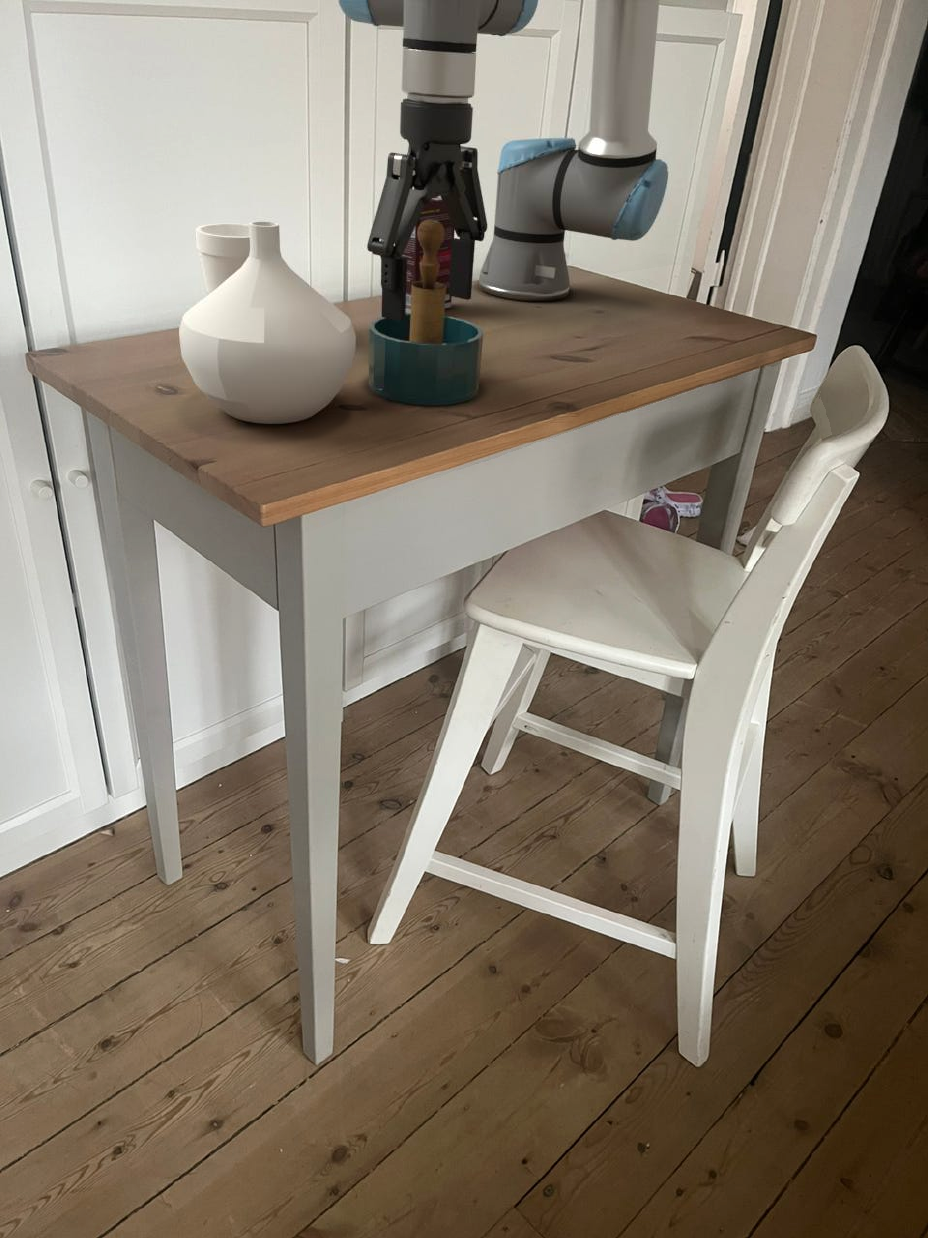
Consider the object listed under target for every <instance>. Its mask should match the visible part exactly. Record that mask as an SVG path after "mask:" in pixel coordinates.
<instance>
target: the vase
mask: <svg viewBox="0 0 928 1238" xmlns="http://www.w3.org/2000/svg"><path fill="white" fill-rule="evenodd" d="M248 225H249V231H250V254H249V257H248V258H247V260H246V261H245V263H244V264H243V265H242V267H241V268H240V269H239V270H237V271H236V272H235V273H234V274H233V275H232V276H230V277H229V278H228V279H227V280H226V281H225V282H223V283H222V284H221V285H220V286H219V287H218V288H216V289H215V290H214V291H213V292H211V293H210V294H209V295H208V294H207V295H206V296H204V298H203V299H201V300H199V301H198V302H197V303H196V304H195V305H193V306H192V307H191V308H190V309H188V310H187V311H186V312H185V313H184V314H183V315H182V318H181V321H180V325H179V329H178V333H179V334H178V339H179V346H180V347H179V348H180V354H181V358H182V361H183V363H184V364H185V366H186V368H187V370H188V372H189V374H190V376H191V378H192V380H193V382H194V384H195V385H196V386H197V387H198V389H199V390H200V391H201V392H202V393H203V395H205V396H206V397H207V399H209V401H210V402H211V403H212V404H213V405H214V406H215V407H217V408H218V409H220V410H221V411H223V412H224V413H226V414H227V415H229V416H231V417H233V418H234V419H237V420H240V421H244V422H247V423H248V422H249V423H254V424H264V425H265V424H266V425H278V424H280V425H281V424H290V423H291V424H292V423H297V422H301V421H304V420H306V419H309V418H311V417H313V416H315V415H316V414H317V413H319V412H320V411H322V409H324V408H325V407H327V406H328V405H329V404H331V402H332V401H333V399H334V398H335V397H336V396H337V394H339V393H340V391H342V389H343V386H344V384H345V382H346V379H347V377H348V374H349V372H350V370H351V367H352V365H353V363H354V360H355V357H356V342H357V341H356V340H357V334H356V333H355V329H354V327H353V324H352V321H351V319H350V317H349V316H348V315H347V314H346V313H344V312H343V311H342V310H340V309H339V308H338V306H335V305H334V304H333V303H332V302H331V301H329V300H328V299H327V298H325V296H323V295H322V294H321V293H319V292H318V291H317V290H316V289H315V288H314V287H312V286H311V285H310V284H309V283H308V282H307V281H305V279H303V278H302V277H301V276H300V275H298V274H297V273H296V272H295V271H294V270H293V269H292V268H291V267H290V266H289V265H288V263H287V262H286V260H285V259H284V257H283V256H282V252H281V240H280V239H281V237H280V235H281V233H280V223H278V222H275V221H267V220H256V221H249V223H248Z"/></svg>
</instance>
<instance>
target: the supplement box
mask: <svg viewBox="0 0 928 1238" xmlns="http://www.w3.org/2000/svg"><path fill="white" fill-rule="evenodd" d="M425 220H437V221H439V222H440V223H441V224H442V226H443V228H444V233H445V236H444V240H443V242H442V244H441V246H440V247H439V249H438V251H437V254H436V260H437V262H438V263H440V267H439V271H438V275H437V278H436V281H435V282H438V283H441V284H444V285H445V286H446V295H445V309H449V308H452V301H453V300H452V299H453V296H449V283H450V265H451V247H452V239H454V238H455V233H456V232H455V230H454V227H453V225H452V222H451V220H450V218H449V215H448V213H447V210H446V208H445V206H444V203H443V201H442V198H441V196H438V197H437V198H432V199H431V201H430V203H429V204H426V205H425V206H424V208H423V210H422V212H421V215H420V217H419V219H418V221H417V224H416V226H415V228H414V230H413V232H412V235H411V237H410V239H409V241H408V244H407V246H406V248H405V250H404V253H403V255H402V258H406V259H407V283H406V314H410V313H411V293H412V283H413V282H415V281H422V276H421V271H420V262H421V261H422V260H423V256H424V251H423V249H422V246H421V244H420V242H419V240H418V236H417V231H418V228H419V226H420V224H421V223H422V222H423V221H425Z"/></svg>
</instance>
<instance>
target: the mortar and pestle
mask: <svg viewBox="0 0 928 1238" xmlns="http://www.w3.org/2000/svg"><path fill="white" fill-rule="evenodd" d="M417 236H418V240H419V242H420V244H421V246H422V249H423V251H424V256H423V260H422V261H421V262H420V271H421V276H422V281H415V282H413V283H412V293H411V317H410V337H409V341H410V342H417V343H431V344H442V339H443V324H444V316H445V310H446V308H445V295H446V286H445V285H444V284H441V283H438V282H435V281H436V278H437V275H438V271H439V267H440V263H438V262H437V260H436V254H437V251H438V249H439V247H440V246H441V244H442V242H443V240H444V236H445V233H444V228H443V226H442V224H441V223H440V222H439V221H437V220H425V221H423V222H422V223H421V224H420V226H419V228H418V231H417Z"/></svg>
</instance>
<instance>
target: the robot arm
mask: <svg viewBox="0 0 928 1238" xmlns="http://www.w3.org/2000/svg"><path fill="white" fill-rule="evenodd" d="M337 2H338V5H339V7H340V9H341V11H342V12H343V14H344V15H345V16H346V17H347V18H348V19H349V20H351V21H353V22H357V23H362V24H368V25H372V26H374V27H379V26H384V27H385V26H386V27H399V28H400V27H401V28H403V36H402V64H401V65H402V66H401V69H402V70H401V91H402V92H403V93H405V94H407V95H406V98H403V99H402V101H401V102H400V122H399V123H400V124H399V134H400V137H401V138H402V139H404V140H406V142H407V143H408V149H407V154H404V153H397V152H389V154H388V156H387V165H386V177H385V180H384V183H383V187H382V190H381V194H380V198H379V201H378V204H377V209H376V212H375V215H374V219H373V223H372V226H371V229H370V234H369V237H368V241H367V245H366V248H367V251H368V252H371V253H372V254H373V255H374V256H379V257H380V287H381V317H384V318H388V319H392V320H396V321H400V322H402V321H405V315H406V314H407V313H406V283H407V259H406V258H402V255H403V253H404V250H405V248H406V246H407V244H408V241H409V239H410V237H411V235H412V232H413V230H414V228H415V226H416V224H417V221H418V219H419V217H420V215H421V212H422V210H423V208H424V206H425V205H426V204H429V203H430V201H431V199H432V198H437V197H438V196H441V198H442V201H443V203H444V206H445V208H446V210H447V213H448V215H449V218H450V220H451V222H452V225H453V227H454V230H455V232H454V233H455V234H456V236H457V237H454V239H452V247H451V265H450V283H449V296H452V298H458V299H462V300H466V301H468V300H471V299H472V289H473V275H474V274H473V273H474V262H475V247H476V242H483V241H484V239H485V236H486V235H485V233H486V232H487V230H488V220H487V215H486V214H487V213H486V208H485V203H484V197H483V192H482V185H481V182H480V175H479V171H478V167H479V165H478V163H479V161H478V160H479V159H478V157H479V151H478V148H477V147H470V146H465V144H468V143H470V141H471V139H472V132H473V129H472V128H473V116H474V115H473V114H474V113H473V112H474V107H473V106H472V104H471V103H469V99H471V98H474V95H475V86H476V65H477V46H478V45H477V43H478V34H480V35H482V34H483V35H491V36H498V37H505V36H506V35H512V34H516V33H518V32H520V31H521V30H523V29H524V28H526V26H528V24H529V23H530V22H531V20H532V19H533V18H534V16H535V13H536V11H537V8H538V4H539V0H337ZM594 9H595V11H594V31H593V32H594V33H593V49H592V50H593V52H592V68H591V69H592V71H591V90H590V91H591V92H590V113H589V130H588V132H587V133H586V134H585V135H583V137H582V138H581V139H580V140H579V142H578V145H577V144H576V139H575V138H573V137H548V138H546V137H545V138H528V139H527V138H525V139H515V140H509V141H508V142H506V143H505V144H504V145H503V146H502V148H501V151H500V155H499V161H498V169H497V170H496V174H497V182H496V183H497V185H496V195H495V210H494V211H495V212H494V223H493V237H492V241H491V244H490V246H489V249H488V252H487V254H486V257H485V259H484V261H483V264H482V267H481V270H480V274H479V278H478V288H479V289H480V290H481V291H482V292H484V293H487V294H489V295H492V296H495V297H498V298H499V297H500V298H504V299H510V300H516V301H517V300H518V301H529V302H530V301H531V302H546V301H547V302H548V301H556V300H561V299H564V298H566V297H568V295H569V293H570V275H569V269H568V264H567V263H568V262H567V259H566V252H565V247H564V246H565V245H564V244H565V237H566V236H565V235H566V234H565V233H566V231H568V232H573V233H580V234H586V235H590V236H597V237H602V238H607V239H611V240H612V241H617V240H623V241H631V242H634V241H638V240H641V239H642V238H643V237H644V236H646V235H647V234H648V232H649V231H650V230H651V229H652V227H653V225H654V223H655V222H656V219H657V217H658V215H659V213H660V210H661V208H662V205H663V202H664V198H665V195H666V192H667V186H668V181H669V171H668V170H669V169H668V168H669V167H668V164H667V163H666V161H663V159H661V158H657V149H658V142H657V141H656V139H655V138H654V137H653V136H652V134H650V132H649V124H650V111H651V101H652V100H651V99H652V89H653V79H654V77H653V76H654V68H655V55H656V44H657V33H658V22H659V21H658V20H659V10H660V0H595V8H594ZM577 146H578V147H577ZM576 148H578V149H576Z"/></svg>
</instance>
